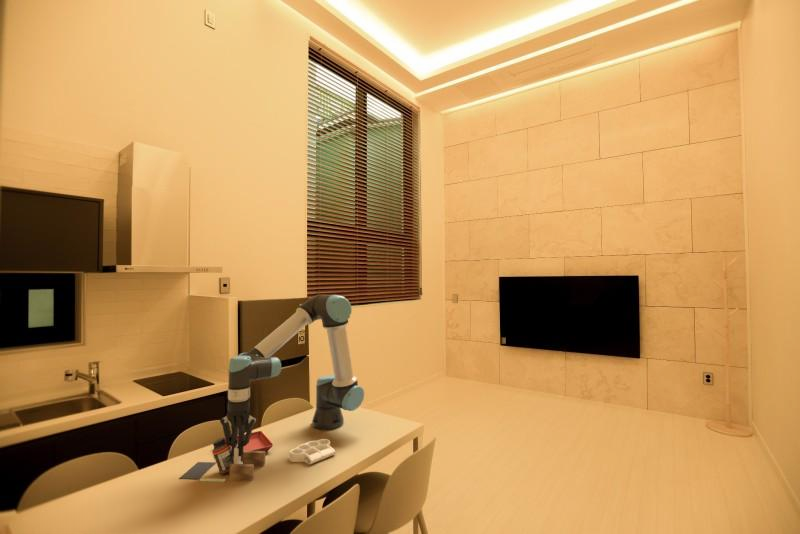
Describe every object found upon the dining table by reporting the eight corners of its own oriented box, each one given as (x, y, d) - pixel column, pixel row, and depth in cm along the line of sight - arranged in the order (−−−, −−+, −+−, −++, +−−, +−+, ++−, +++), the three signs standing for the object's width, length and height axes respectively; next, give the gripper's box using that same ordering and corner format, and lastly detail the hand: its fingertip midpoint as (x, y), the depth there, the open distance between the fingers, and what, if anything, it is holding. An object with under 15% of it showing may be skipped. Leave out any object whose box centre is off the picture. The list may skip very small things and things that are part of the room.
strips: (241, 462, 148) (241, 461, 148) (223, 482, 133) (223, 481, 133) (220, 461, 148) (220, 460, 148) (199, 481, 134) (199, 480, 134)
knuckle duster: (303, 469, 143) (283, 457, 153) (341, 454, 156) (320, 443, 166) (303, 460, 143) (283, 448, 153) (341, 445, 157) (320, 435, 166)
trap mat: (215, 463, 147) (215, 462, 147) (198, 479, 135) (198, 478, 135) (197, 462, 147) (197, 461, 147) (179, 478, 135) (179, 478, 135)
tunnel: (265, 464, 146) (265, 451, 146) (251, 480, 134) (252, 466, 134) (244, 463, 146) (244, 450, 147) (229, 480, 134) (229, 465, 135)
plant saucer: (226, 465, 146) (226, 456, 146) (216, 448, 161) (217, 440, 161) (273, 453, 157) (274, 444, 157) (260, 438, 171) (261, 430, 171)
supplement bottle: (220, 471, 141) (209, 442, 142) (236, 462, 144) (226, 434, 144) (220, 476, 136) (209, 445, 136) (237, 467, 139) (227, 437, 139)
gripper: (216, 401, 138) (214, 469, 136) (252, 402, 137) (250, 470, 136) (226, 395, 145) (224, 459, 144) (260, 396, 145) (258, 460, 144)
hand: (237, 464), depth 140 cm, fingers closed
